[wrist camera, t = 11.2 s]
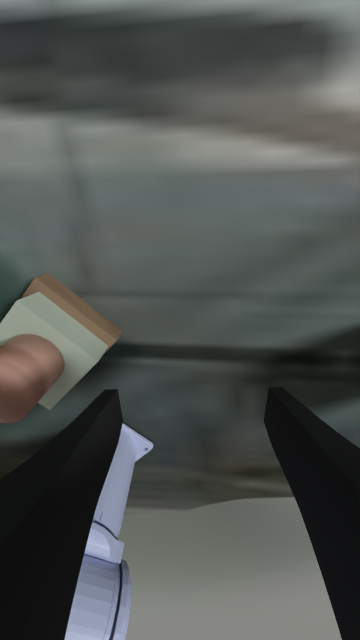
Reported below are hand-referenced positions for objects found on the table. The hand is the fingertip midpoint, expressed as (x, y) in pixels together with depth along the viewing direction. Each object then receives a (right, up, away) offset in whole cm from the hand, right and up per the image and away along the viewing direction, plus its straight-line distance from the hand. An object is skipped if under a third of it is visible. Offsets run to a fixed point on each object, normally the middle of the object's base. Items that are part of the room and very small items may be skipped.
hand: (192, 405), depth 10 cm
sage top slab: (-12, +2, +9) cm, 15 cm away
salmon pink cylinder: (-12, +1, +6) cm, 13 cm away
